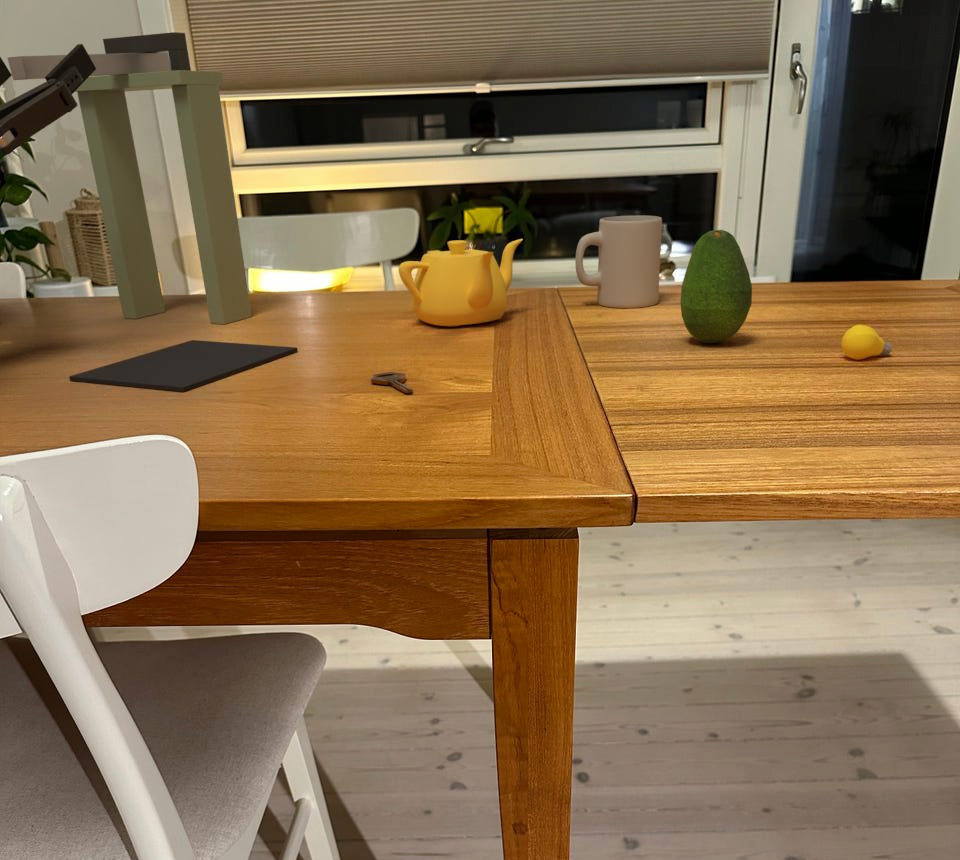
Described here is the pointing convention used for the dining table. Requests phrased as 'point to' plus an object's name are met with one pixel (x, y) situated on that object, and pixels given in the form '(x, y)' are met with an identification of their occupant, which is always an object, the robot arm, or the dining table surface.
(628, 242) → the mug
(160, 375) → the mat
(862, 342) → the light bulb
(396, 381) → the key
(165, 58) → the bar
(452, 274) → the teapot
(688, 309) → the fruit
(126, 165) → the stand
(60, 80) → the robot arm
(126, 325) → the dining table surface
